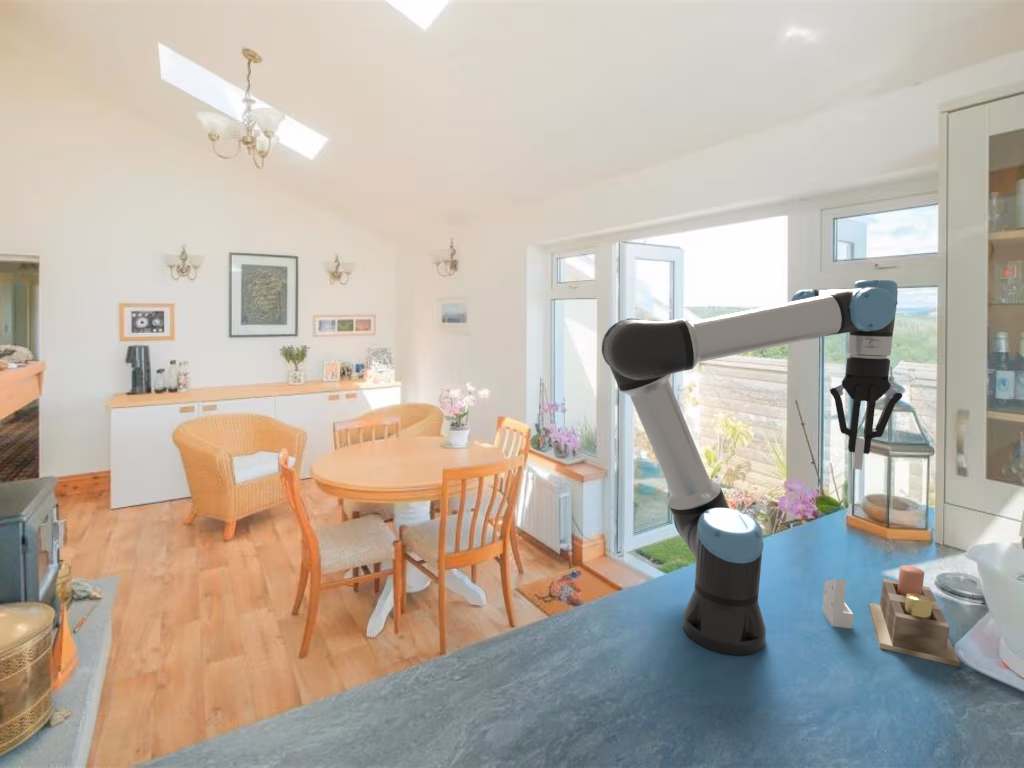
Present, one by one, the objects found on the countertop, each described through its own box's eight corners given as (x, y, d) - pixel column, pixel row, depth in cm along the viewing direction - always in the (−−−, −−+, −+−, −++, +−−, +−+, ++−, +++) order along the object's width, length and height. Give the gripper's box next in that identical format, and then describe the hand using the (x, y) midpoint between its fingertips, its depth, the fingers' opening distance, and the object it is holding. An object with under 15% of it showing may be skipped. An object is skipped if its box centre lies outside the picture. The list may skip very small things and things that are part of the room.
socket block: (879, 647, 105) (883, 613, 104) (868, 607, 119) (871, 576, 118) (958, 666, 99) (963, 630, 98) (937, 621, 113) (941, 589, 112)
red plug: (897, 609, 111) (901, 572, 110) (894, 600, 115) (898, 563, 114) (921, 614, 109) (926, 576, 108) (917, 605, 113) (922, 568, 112)
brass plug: (903, 640, 104) (908, 601, 103) (900, 629, 108) (904, 591, 107) (929, 646, 103) (934, 606, 101) (925, 635, 106) (929, 596, 105)
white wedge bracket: (841, 627, 107) (836, 579, 110) (823, 625, 116) (819, 582, 119) (862, 629, 106) (856, 581, 109) (842, 627, 115) (838, 583, 119)
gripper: (833, 356, 113) (822, 467, 117) (910, 359, 107) (896, 477, 111) (831, 353, 120) (821, 459, 123) (903, 356, 114) (891, 467, 117)
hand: (856, 467), depth 117 cm, fingers closed
